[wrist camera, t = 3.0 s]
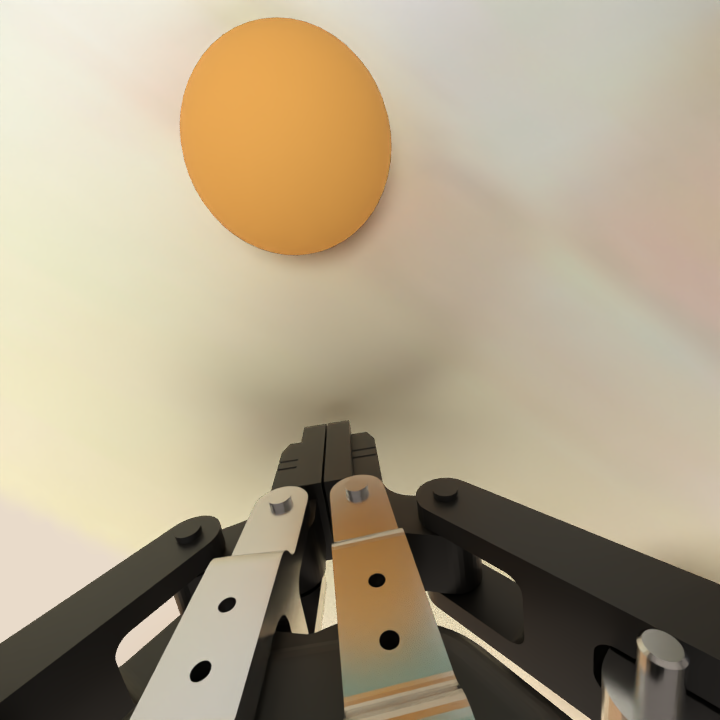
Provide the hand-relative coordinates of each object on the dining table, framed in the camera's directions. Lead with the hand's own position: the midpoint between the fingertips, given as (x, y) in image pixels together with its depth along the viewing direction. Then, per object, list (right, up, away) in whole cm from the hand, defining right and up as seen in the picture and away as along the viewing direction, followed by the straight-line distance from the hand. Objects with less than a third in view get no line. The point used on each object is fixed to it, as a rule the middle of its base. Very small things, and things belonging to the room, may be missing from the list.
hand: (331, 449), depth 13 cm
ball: (-1, +9, -1) cm, 9 cm away
